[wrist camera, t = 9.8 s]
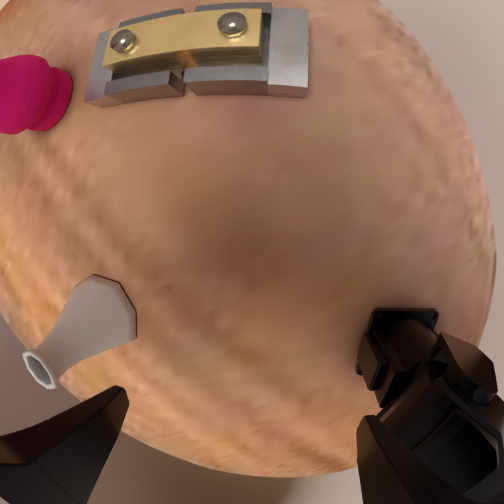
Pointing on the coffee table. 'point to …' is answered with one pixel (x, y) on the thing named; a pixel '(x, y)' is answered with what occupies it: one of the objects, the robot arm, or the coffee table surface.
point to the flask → (83, 329)
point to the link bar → (187, 42)
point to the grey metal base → (217, 77)
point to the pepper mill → (31, 94)
